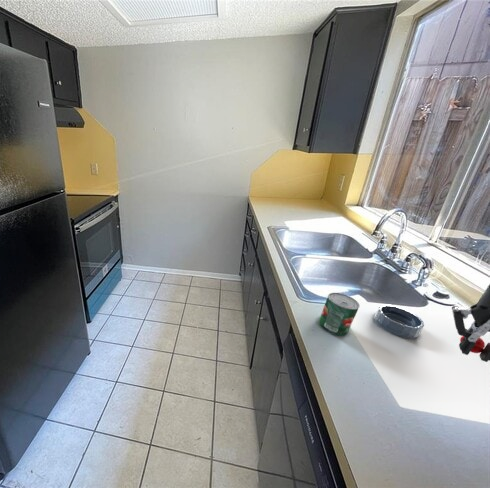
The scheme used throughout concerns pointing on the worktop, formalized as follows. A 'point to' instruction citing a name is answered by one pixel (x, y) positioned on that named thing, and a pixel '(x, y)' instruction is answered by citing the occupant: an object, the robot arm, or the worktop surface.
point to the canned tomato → (338, 313)
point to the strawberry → (477, 345)
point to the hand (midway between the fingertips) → (473, 355)
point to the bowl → (401, 315)
